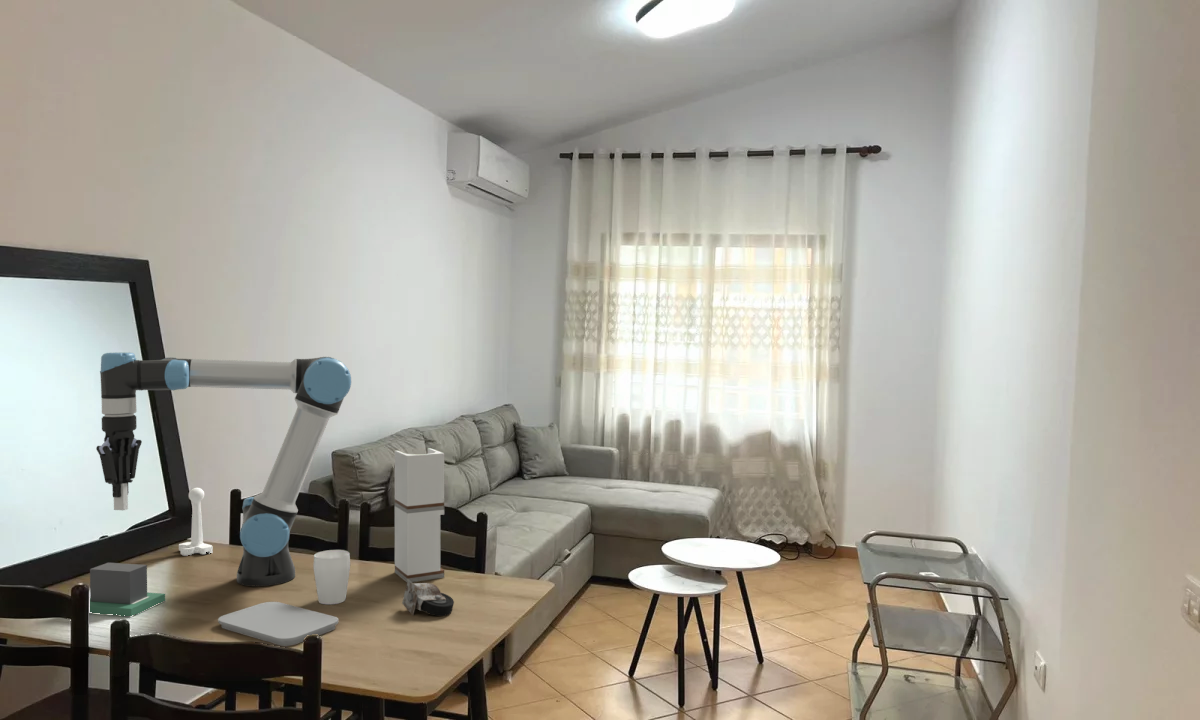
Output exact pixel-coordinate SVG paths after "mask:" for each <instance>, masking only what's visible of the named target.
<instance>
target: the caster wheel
mask: <svg viewBox="0 0 1200 720" xmlns="http://www.w3.org/2000/svg"><path fill="white" fill-rule="evenodd" d="M401 604H402V605H403V606H404V608H405V609H406V610H407V611H408V613H409V614H410V615H411V616H414V614H415V610H419V612H420V611H421V612H424V613H426V614H428V615H432V616H438V617H444V616H448V615H450V614H451V613H452V612H453V608H454V604H455V601H454V599H453V597H451V596H450V595H448V594H446V593H443V592H441V590H440V588H439V587H438V586H437V585H435V584H434V583H430V582H422V583H421V582H420V583H417V582H411V581H410V580H409V579H408V581H407V582H406V585H405V590H404V594H403V597H402V603H401Z"/></svg>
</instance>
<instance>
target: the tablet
mask: <svg viewBox="0 0 1200 720" xmlns="http://www.w3.org/2000/svg"><path fill="white" fill-rule="evenodd" d="M217 623H218V624H219V625H221V628H222V629H223V630H226V631H231V632H234V633H237V634H241V635H244V636H247V637H251V638H255V639H257V640H261V641H264V642H267V643H271V644H275V645H277V646H282V647H284V646H285V647H287V646H288V647H289V646H294V645H298V644H300V643H302V642H304V641H303V640H304V638H305V637H306V636H307V635H312V634H318V635H319V636H321V635H325V634H326V633H328V632H331V631H333V630H335V629H336V625H338V624H339V618H338V617H337V616H334V615H330V614H326V613H323V612H318V611H314V610H312V609H311V610H310V609H307V608H302V607H299V606H297V605H296V606H295V605H292V604H287V603H283V602H279V601H266V602H260V603H258V604H255V605H252V606H249V607H245V608H242V609H239V610H236V611H233V612H229V613H227V614H224V615H220V616H219V617H218V619H217Z"/></svg>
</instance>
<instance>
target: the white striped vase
mask: <svg viewBox="0 0 1200 720" xmlns="http://www.w3.org/2000/svg"><path fill="white" fill-rule="evenodd" d="M441 515H443V516H444V515H445V452H442V451H439V450H437V449H433V448H431V447H430V448H427V453H425V454H424V453H422V454H419V453H418V454H414V453H405V452H402V451H401V450H398V449H397V450H394V573H395V574H396V575H397V576H399V578H401V579H402V580H403V581H405V582H406V583H407V581H408V579H409V580H410V581H411V582H412V583H417V582H423V581H429V580H436V579H441V578H445V570H444V568H443V567H441Z"/></svg>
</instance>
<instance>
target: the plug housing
mask: <svg viewBox="0 0 1200 720" xmlns="http://www.w3.org/2000/svg"><path fill="white" fill-rule="evenodd" d="M89 587H90V589H89V593H90V594H89V596H90V597H89V598H90V601H93V602H107V603H121V604H132V603H134V602H136V601H138V600H141V599H143V598H145V597H147V592H148V565H147V564H133V563H119V562H106V563H104V564H100V565H98V566H95V567H92V568H90V569H89Z"/></svg>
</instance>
